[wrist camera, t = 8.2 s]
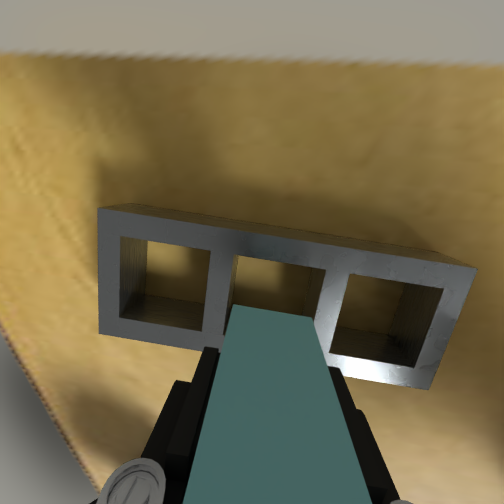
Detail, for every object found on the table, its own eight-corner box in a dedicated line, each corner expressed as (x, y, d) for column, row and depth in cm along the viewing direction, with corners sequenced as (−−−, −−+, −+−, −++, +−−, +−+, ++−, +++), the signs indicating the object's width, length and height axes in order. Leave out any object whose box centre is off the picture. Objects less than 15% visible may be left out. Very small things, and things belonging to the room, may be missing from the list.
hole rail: (400, 354, 22) (428, 390, 18) (127, 308, 23) (98, 333, 19) (436, 252, 20) (477, 268, 16) (130, 203, 20) (97, 207, 16)
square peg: (295, 381, 13) (358, 820, 4) (223, 368, 13) (132, 782, 4) (311, 317, 12) (444, 726, 3) (233, 304, 12) (140, 672, 3)
